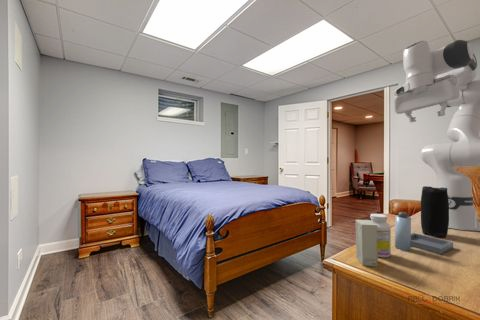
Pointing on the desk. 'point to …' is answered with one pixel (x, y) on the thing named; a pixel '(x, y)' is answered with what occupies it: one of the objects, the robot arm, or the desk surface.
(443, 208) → the portable speaker
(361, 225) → the skincare box
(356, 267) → the desk surface
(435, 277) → the desk surface
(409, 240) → the blue bottle
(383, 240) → the supplement bottle
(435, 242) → the box
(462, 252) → the desk surface
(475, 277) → the desk surface
